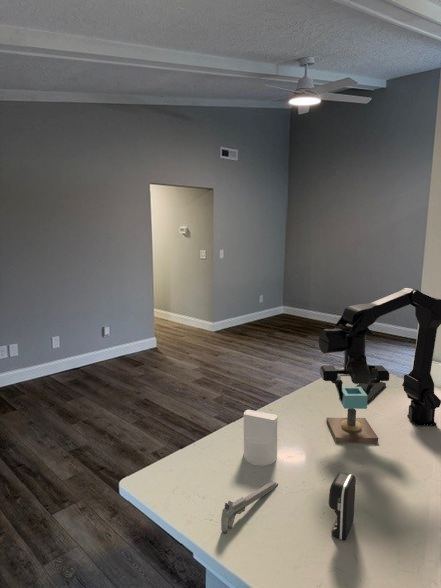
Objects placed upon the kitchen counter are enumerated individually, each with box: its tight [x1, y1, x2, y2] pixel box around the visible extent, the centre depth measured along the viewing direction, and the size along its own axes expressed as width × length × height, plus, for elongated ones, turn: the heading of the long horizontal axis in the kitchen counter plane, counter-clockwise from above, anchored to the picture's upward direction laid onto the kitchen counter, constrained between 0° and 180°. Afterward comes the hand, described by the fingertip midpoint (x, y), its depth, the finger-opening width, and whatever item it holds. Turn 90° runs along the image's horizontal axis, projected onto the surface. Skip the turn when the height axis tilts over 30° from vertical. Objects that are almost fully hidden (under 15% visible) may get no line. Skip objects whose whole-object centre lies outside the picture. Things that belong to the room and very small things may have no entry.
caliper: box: [220, 480, 279, 534], centre depth 89 cm, size 20×1×6 cm, turn 140°
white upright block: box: [243, 409, 278, 466], centre depth 108 cm, size 9×9×12 cm
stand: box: [325, 409, 379, 444], centre depth 120 cm, size 12×12×7 cm
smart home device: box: [355, 381, 387, 405], centre depth 149 cm, size 8×2×20 cm
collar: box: [338, 386, 368, 410], centre depth 119 cm, size 6×6×4 cm
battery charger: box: [328, 471, 356, 541], centre depth 82 cm, size 7×4×11 cm, turn 147°
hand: (352, 400), depth 119 cm, fingers closed on collar, 6 cm apart
